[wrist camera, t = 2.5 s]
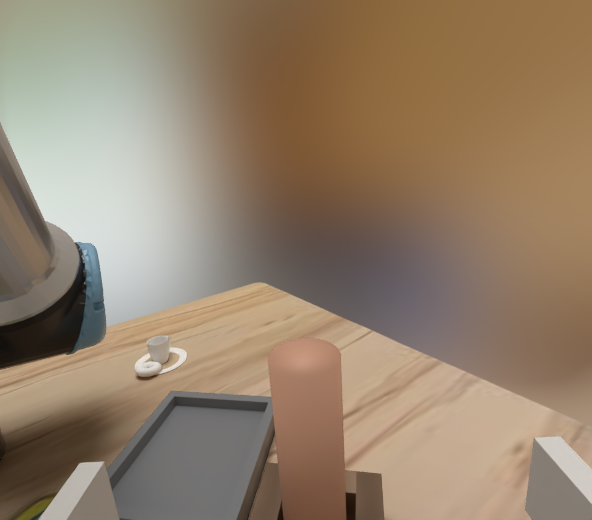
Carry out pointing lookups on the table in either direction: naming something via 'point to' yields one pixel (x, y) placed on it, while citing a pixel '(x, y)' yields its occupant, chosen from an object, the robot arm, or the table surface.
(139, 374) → the teacup and saucer
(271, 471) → the socket block
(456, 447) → the table surface
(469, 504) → the table surface
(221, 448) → the tray
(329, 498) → the dowel
